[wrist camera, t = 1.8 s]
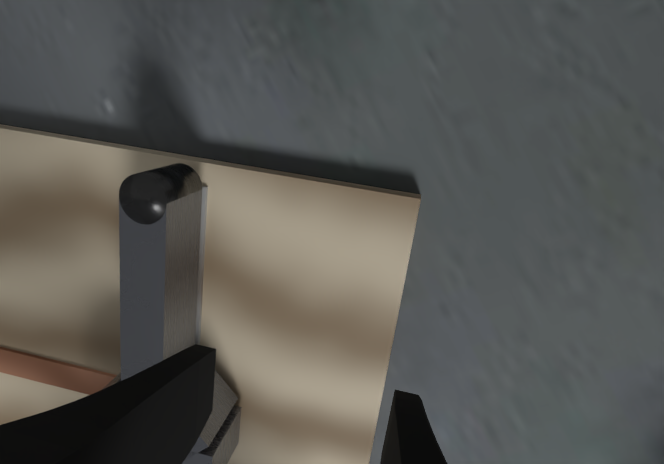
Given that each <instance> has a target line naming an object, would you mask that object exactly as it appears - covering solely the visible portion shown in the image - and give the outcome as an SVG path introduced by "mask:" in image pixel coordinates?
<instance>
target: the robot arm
mask: <svg viewBox="0 0 664 464" xmlns="http://www.w3.org/2000/svg"><path fill="white" fill-rule="evenodd" d="M215 362H216V349H215V348H211V347H206V346H202V345H197V344H195V345H193V346H190V347H188V348H186V349H184V350H182V351H180V352H178V353H176V354H174V355H172V356H171V357H169V358H167V359H165V360H163V361H161V362H159V363H157V364H155V365H153V366H151V367H149V368H147V369H145V370H143V371H141V372H139V373H137V374H135V375H133V376H131V377H129V378H127V379H124V380H122V381H120V382H118V383H116V384H113V385H111V386H109V387H107V388H105V389H102V390H100V391H98V392H96V393H93V394H91V395H88V396H86V397H84V398H81V399H78V400H76V401H73V402H71V403H68V404H65V405H62V406H59V407H57V408H54V409H51V410H48V411H45V412H42V413H39V414H35V415H32V416H29V417H25V418H22V419H18V420H15V421H12V422H8V423H5V424H2V425H0V464H182V463H183V462H184V460H185V459H186V457H187V456H188V454H189V453H190V451H191V450H192V448H193V447H194V445H195V444H196V442H197V440H198V438H199V436H200V434H201V432H202V430H203V428H204V426H205V424H206V422H207V420H208V418H209V416H210V414H211V412H212V409H213V394H214V378H215ZM381 464H447V462H446V460H445V458H444V456H443V454H442V451H441V449H440V447H439V445H438V443H437V440H436V438H435V436H434V433H433V431H432V428H431V426H430V423H429V421H428V418H427V415H426V412H425V409H424V406H423V403H422V400H421V398H420V397H419V395H416V394H412V393H407V392H403V391H399V390H395V392H394V397H393V402H392V406H391V411H390V416H389V421H388V426H387V431H386V436H385V440H384V445H383V450H382V456H381Z"/></svg>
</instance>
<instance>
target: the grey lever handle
mask: <svg viewBox="0 0 664 464" xmlns="http://www.w3.org/2000/svg"><path fill="white" fill-rule="evenodd" d="M201 207H202V182H201V179H200V177H199V175H198V174H197V172H196V171H195V170H194V169H193V168H192V167H190V166H188V165H186V164H182V163H176V164H171V165H167V166H163V167H160V168H156V169H152V170H148V171H144V172H140V173H136V174H133V175H130V176H128V177H127V178H126V179H125V180H124V181H123V182H122V184H121V186H120V189H119V256H120V354H121V372H120V373H119V374H118V375H117V376H116V377H115V378H114V379H113V380H112V381H110V382H109V383H108V384H107V385H106V386H105V387H104V388H103V389H105V388H107V387H109V386H111V385H113V384H116V383H118V382H120V381H122V380H124V379H127V378H129V377H131V376H133V375H135V374H137V373H139V372H141V371H143V370H145V369H147V368H149V367H151V366H153V365H155V364H157V363H159V362H161V361H163V360H165V359H167V358H169V357H171V356H172V355H174V354H176V353H178V352H180V351H182V350H184V349H186V348H188V347H190V346H193V345H195V336H196V314H197V293H198V272H199V250H200V229H201ZM237 400H238V397H237V396H236V394H235V393H234V392H233V391H232V390H231V388H230V387H229V386H228V385H227V384H226V382H225V381H224V380H223V379H222V377H221V376H220V375H219V374H218V373H217V371H216V370H215V378H214V394H213V409H212V412H211V414H210V416H209V418H208V420H207V422H206V424H205V426H204V428H203V430H202V432H201V434H200V436H199V438H198V440H197V442H196V444H195V445H194V447H193V448H192V450H191V451H190V453H189V454H188V456H187V457H186V459H185V460H184V462H183V463H182V464H227V463H228V461H229V460H230V458H231V456H232V454H233V452H234V450H235V448H236V446H237V445H238V443H239V431H240V420H241V408H242V407H239V406H235V405H234V404H235V403H236V401H237Z"/></svg>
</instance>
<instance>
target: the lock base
mask: <svg viewBox="0 0 664 464" xmlns="http://www.w3.org/2000/svg"><path fill="white" fill-rule="evenodd" d="M176 163H182V164H186V165H188V166H190V167H192V168H193V169H194V170H195V171H196V172H197V174H198V175H199V177H200V179H201V182H202V207H201V229H200V250H199V272H198V293H197V314H196V336H195V344H197V345H202V346H206V347H211V348H215V349H216V362H215V370H216V371H217V373H218V374H219V375H220V376H221V377H222V379H223V380H224V381H225V382H226V384H227V385H228V386H229V387H230V388H231V390H232V391H233V392H234V393H235V394H236V396H237V397H238V400H237V401H236V403H235V404H234V405H235V406H239V407H242V408H241V420H240V431H239V443H238V445H237V446H236V448H235V450H234V452H233V454H232V456H231V458H230V460H229V461H228V463H227V464H369V460H370V455H371V450H372V445H373V440H374V435H375V430H376V424H377V419H378V414H379V409H380V404H381V399H382V394H383V389H384V384H385V379H386V374H387V369H388V363H389V358H390V353H391V348H392V343H393V338H394V333H395V328H396V323H397V318H398V313H399V308H400V302H401V297H402V292H403V287H404V282H405V277H406V272H407V267H408V262H409V257H410V252H411V246H412V241H413V236H414V231H415V226H416V221H417V216H418V211H419V206H420V201H421V195H420V194H414V193H408V192H402V191H397V190H391V189H385V188H379V187H373V186H367V185H361V184H355V183H349V182H343V181H337V180H331V179H325V178H319V177H313V176H307V175H301V174H295V173H289V172H283V171H277V170H271V169H265V168H259V167H253V166H247V165H241V164H235V163H229V162H223V161H217V160H211V159H205V158H199V157H194V156H188V155H182V154H176V153H170V152H164V151H158V150H152V149H146V148H140V147H134V146H128V145H122V144H116V143H110V142H104V141H98V140H92V139H86V138H80V137H74V136H68V135H62V134H56V133H50V132H44V131H38V130H32V129H26V128H20V127H14V126H8V125H2V124H0V425H2V424H5V423H8V422H12V421H15V420H18V419H22V418H25V417H29V416H32V415H35V414H39V413H42V412H45V411H48V410H51V409H54V408H57V407H59V406H62V405H65V404H68V403H71V402H73V401H76V400H78V399H81V398H84V397H86V396H88V395H91V394H93V393H96V392H98V391H100V390H102V389H103V388H104V387H105V386H106V385H107V384H108V383H109V382H110V381H112V380H113V379H114V378H115V377H116V376H117V375H118V374H119V373H120V372H121V354H120V256H119V189H120V186H121V184H122V182H123V181H124V180H125V179H126V178H127V177H128V176H130V175H133V174H136V173H140V172H144V171H148V170H152V169H156V168H160V167H163V166H167V165H171V164H176Z"/></svg>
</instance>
